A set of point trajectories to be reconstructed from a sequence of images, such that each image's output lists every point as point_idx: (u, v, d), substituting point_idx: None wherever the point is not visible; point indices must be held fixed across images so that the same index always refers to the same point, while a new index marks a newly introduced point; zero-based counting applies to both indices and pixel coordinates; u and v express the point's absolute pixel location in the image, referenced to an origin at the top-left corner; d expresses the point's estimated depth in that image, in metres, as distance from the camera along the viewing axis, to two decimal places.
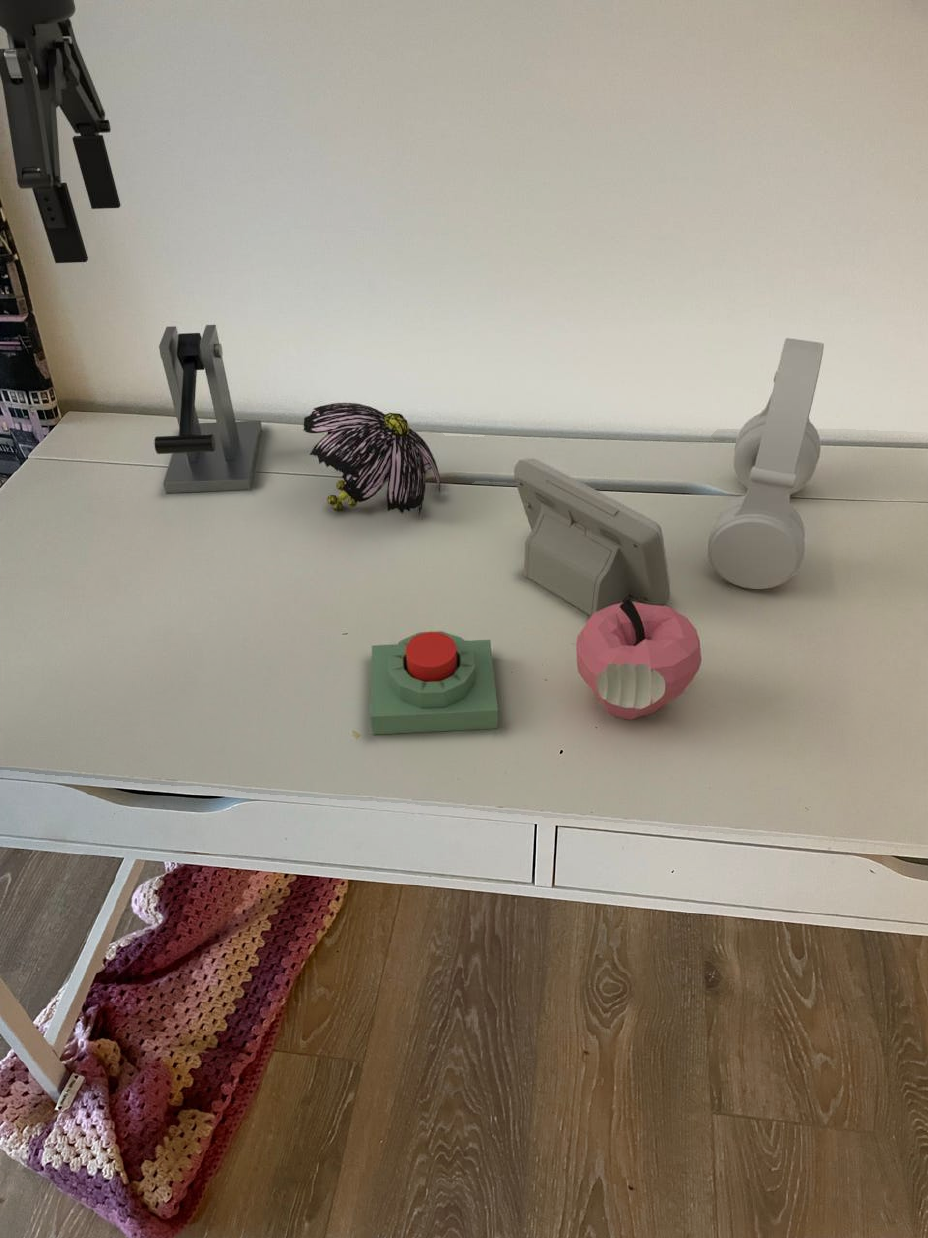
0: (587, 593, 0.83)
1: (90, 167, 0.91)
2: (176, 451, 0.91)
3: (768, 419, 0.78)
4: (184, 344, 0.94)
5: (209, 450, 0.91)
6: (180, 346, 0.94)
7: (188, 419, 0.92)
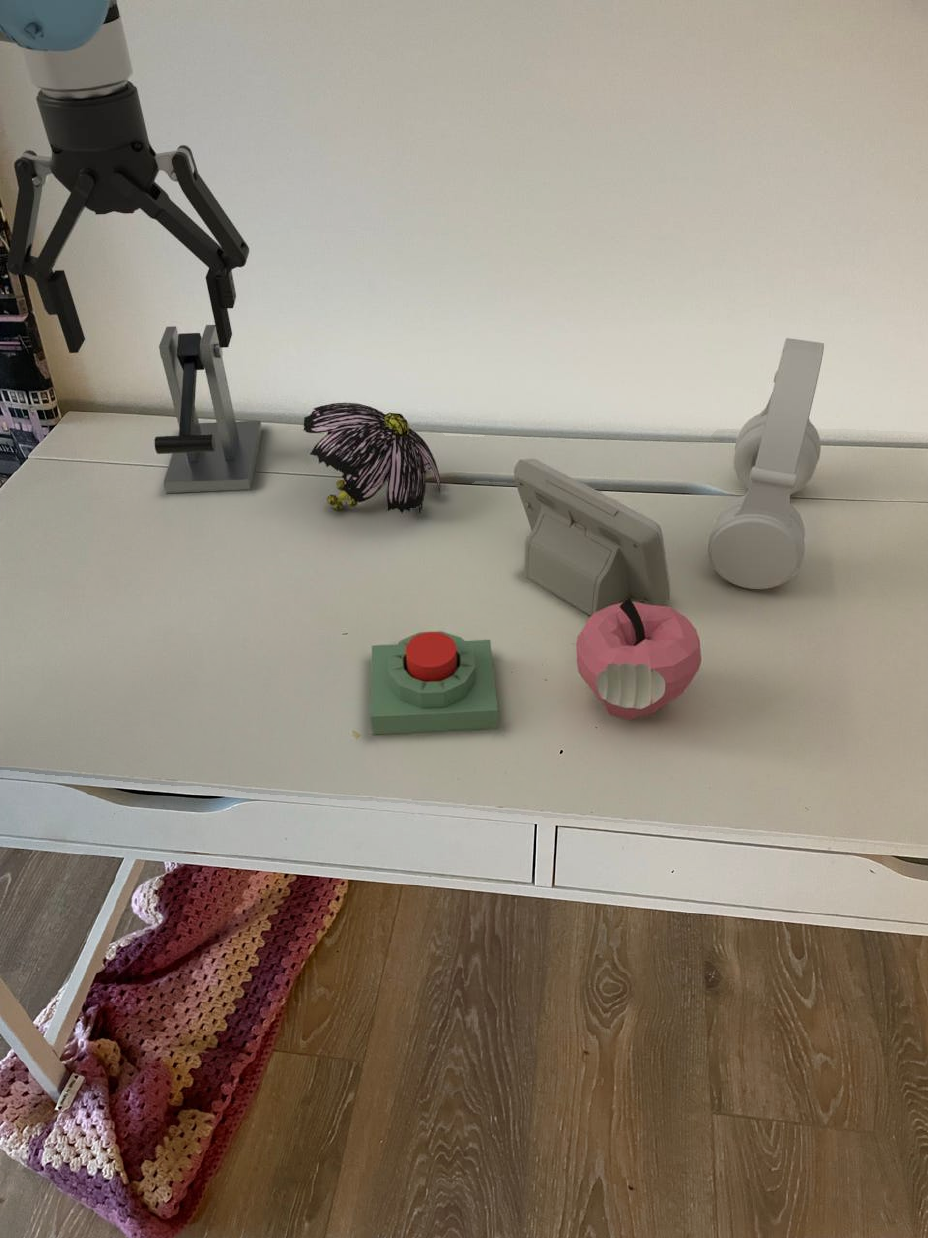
0: (587, 593, 0.83)
1: (68, 307, 0.83)
2: (176, 451, 0.91)
3: (768, 419, 0.78)
4: (184, 344, 0.94)
5: (209, 450, 0.91)
6: (180, 346, 0.94)
7: (188, 419, 0.92)
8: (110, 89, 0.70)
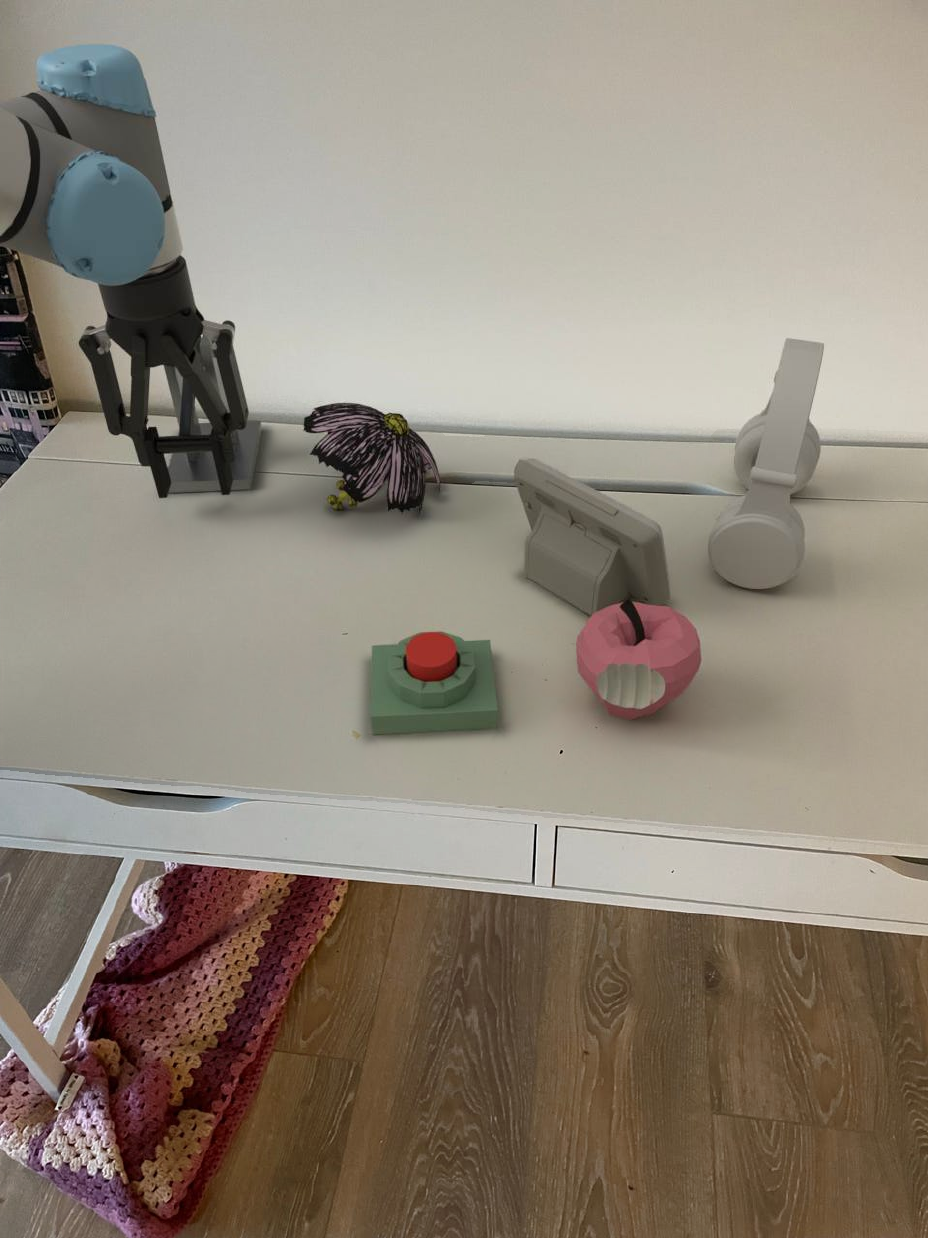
0: (587, 593, 0.83)
1: (159, 459, 0.92)
2: (176, 451, 0.91)
3: (768, 419, 0.78)
4: None
5: (209, 450, 0.91)
6: None
7: (188, 419, 0.92)
8: (163, 267, 0.77)
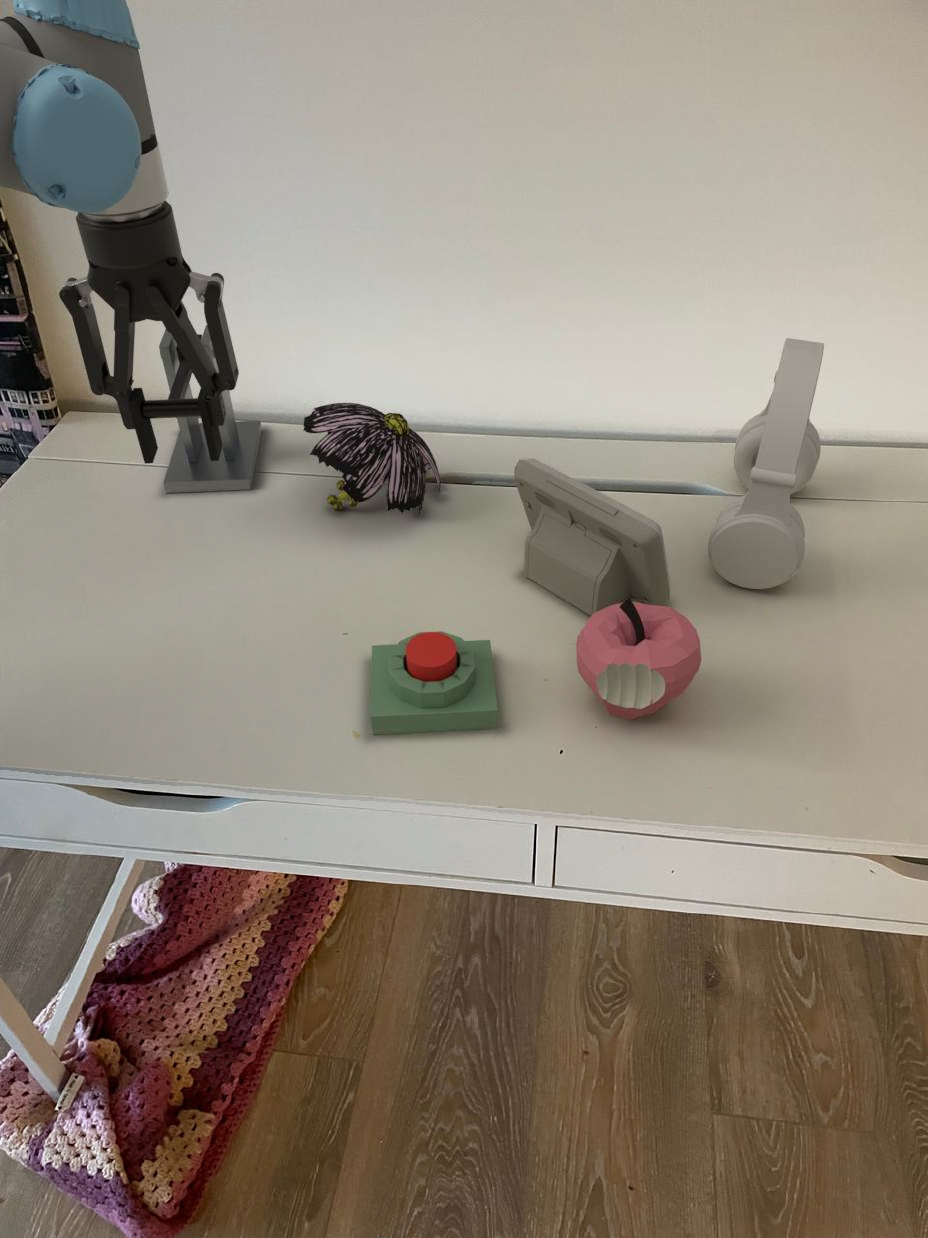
0: (587, 593, 0.83)
1: (145, 422, 0.88)
2: (162, 413, 0.87)
3: (768, 419, 0.78)
4: None
5: (197, 412, 0.87)
6: None
7: (179, 389, 0.89)
8: (148, 212, 0.73)
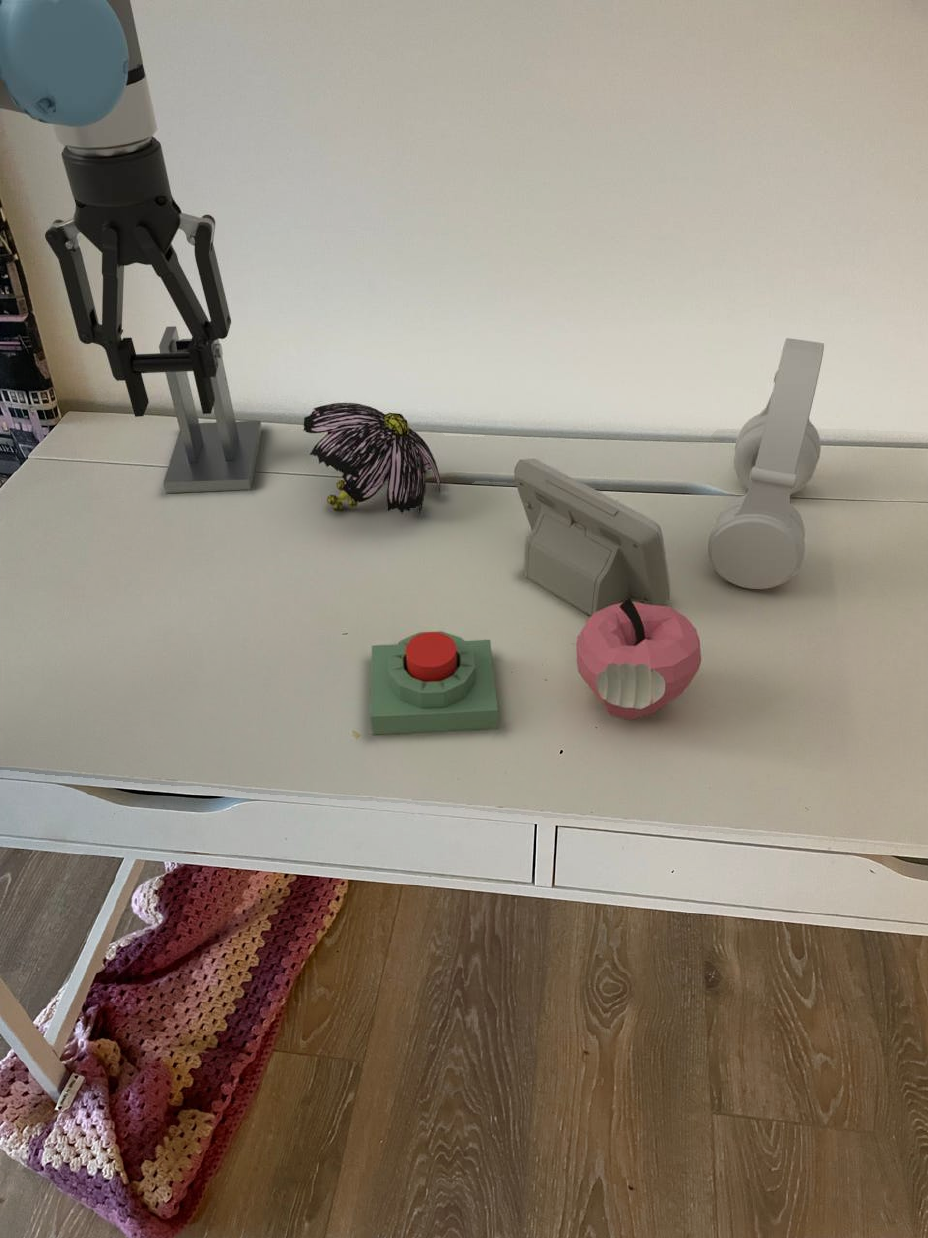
0: (587, 593, 0.83)
1: None
2: (152, 363, 0.84)
3: (768, 419, 0.78)
4: (185, 339, 0.95)
5: (188, 363, 0.84)
6: (181, 339, 0.95)
7: None
8: (135, 146, 0.71)
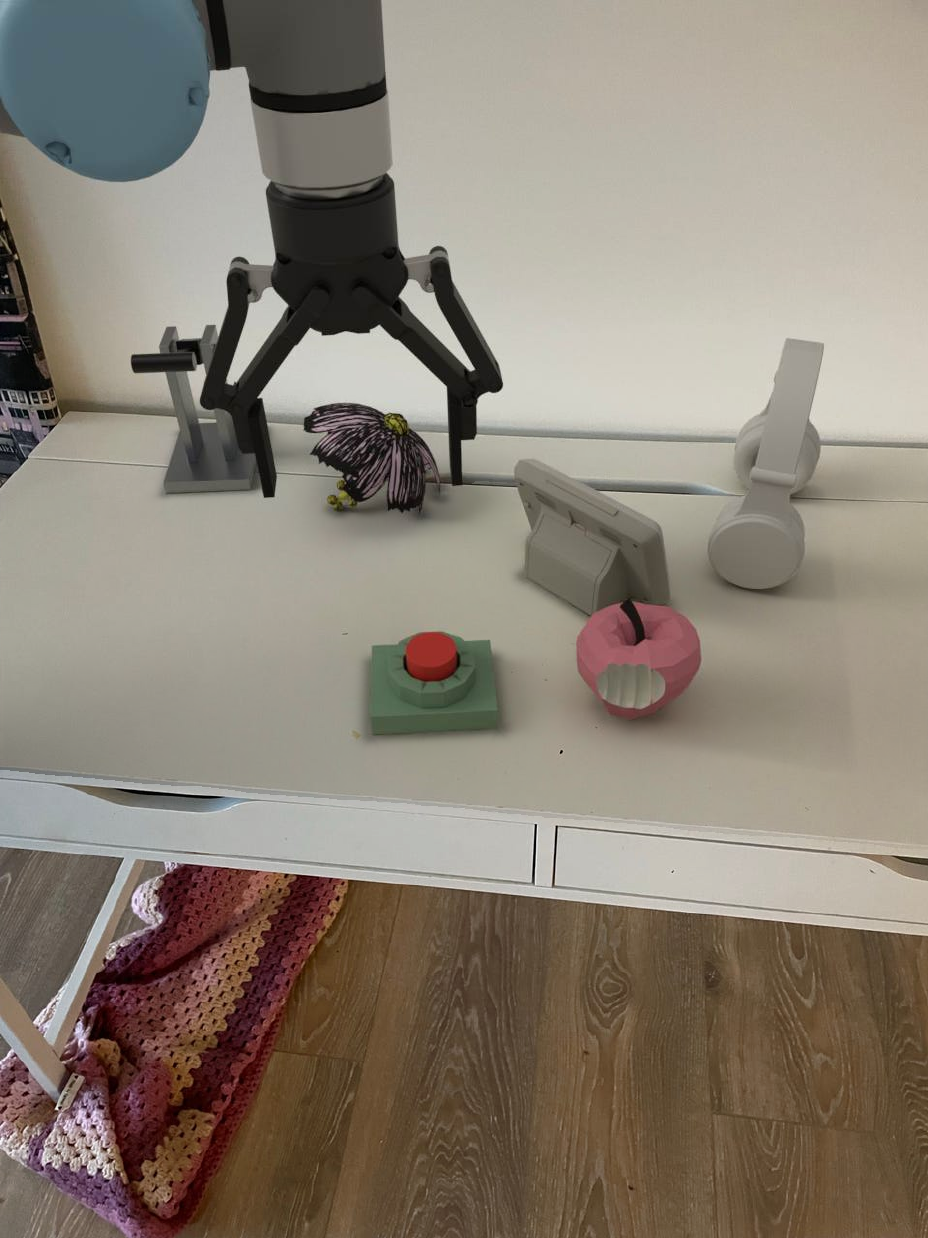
0: (587, 593, 0.83)
1: (266, 444, 0.66)
2: (152, 363, 0.84)
3: (768, 419, 0.78)
4: (185, 339, 0.95)
5: (188, 363, 0.84)
6: (181, 339, 0.95)
7: None
8: (371, 184, 0.53)
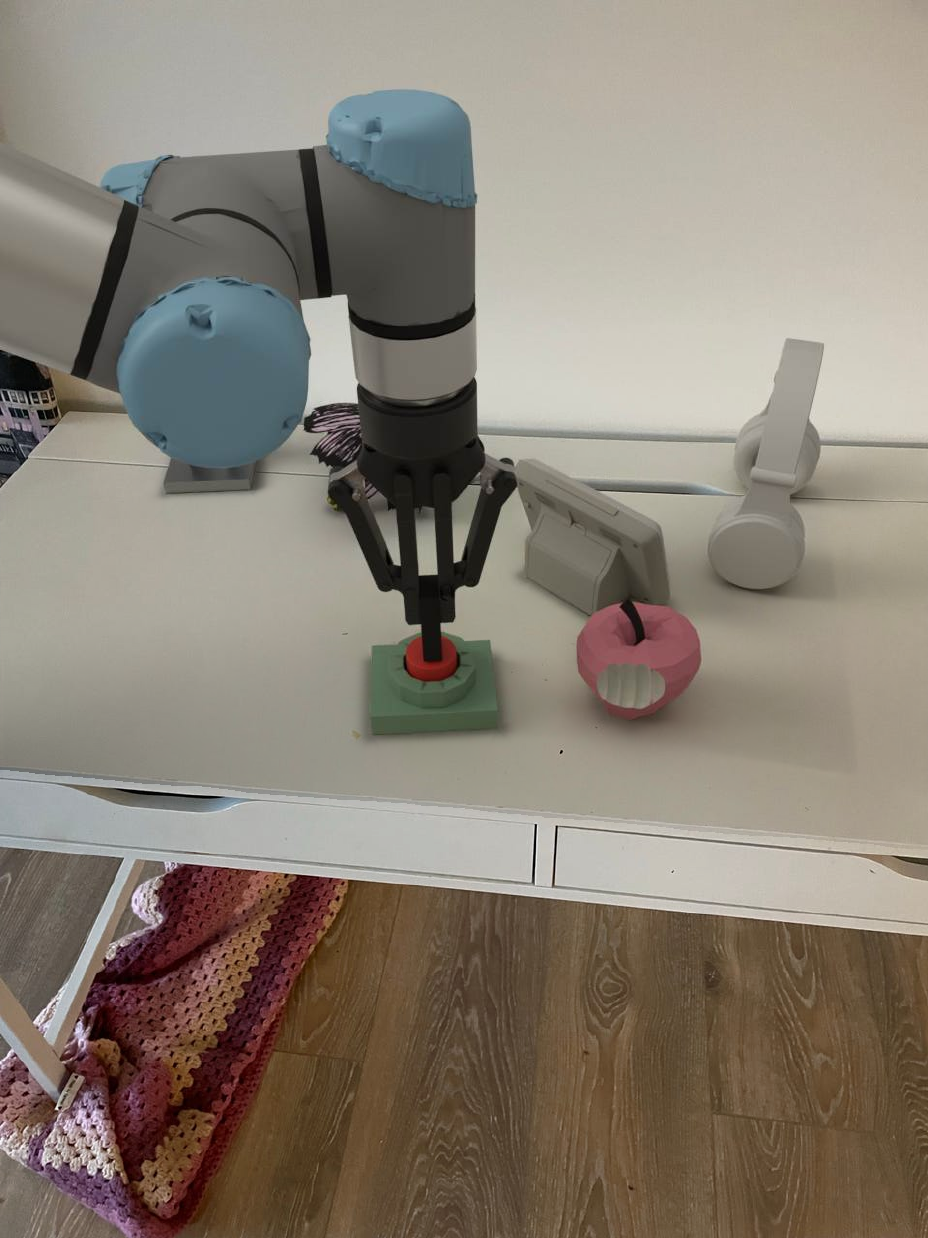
0: (587, 593, 0.83)
1: None
2: None
3: (768, 419, 0.78)
4: None
5: None
6: None
7: None
8: (457, 390, 0.57)
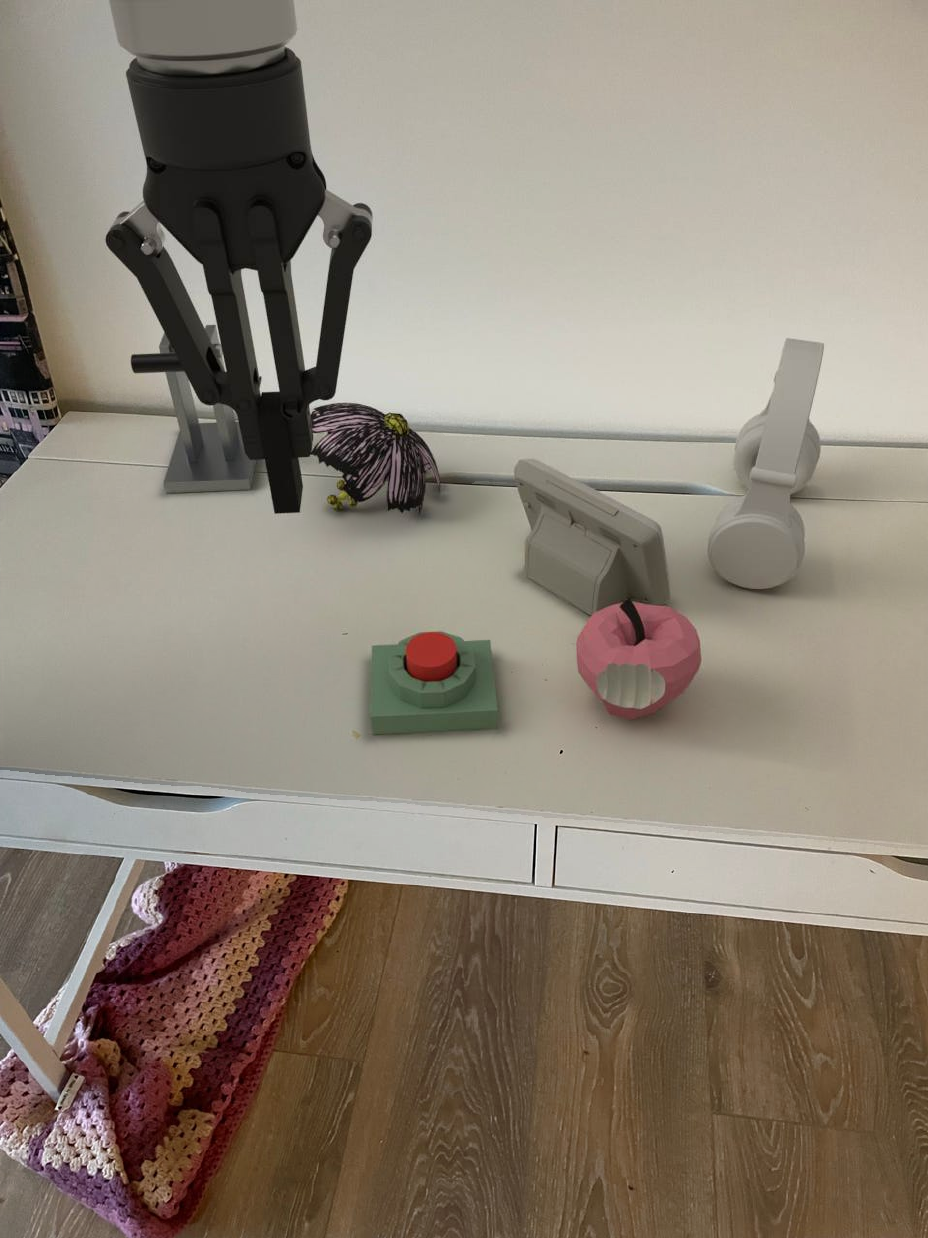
0: (587, 593, 0.83)
1: None
2: (152, 363, 0.84)
3: (768, 419, 0.78)
4: None
5: None
6: None
7: None
8: (263, 58, 0.39)
